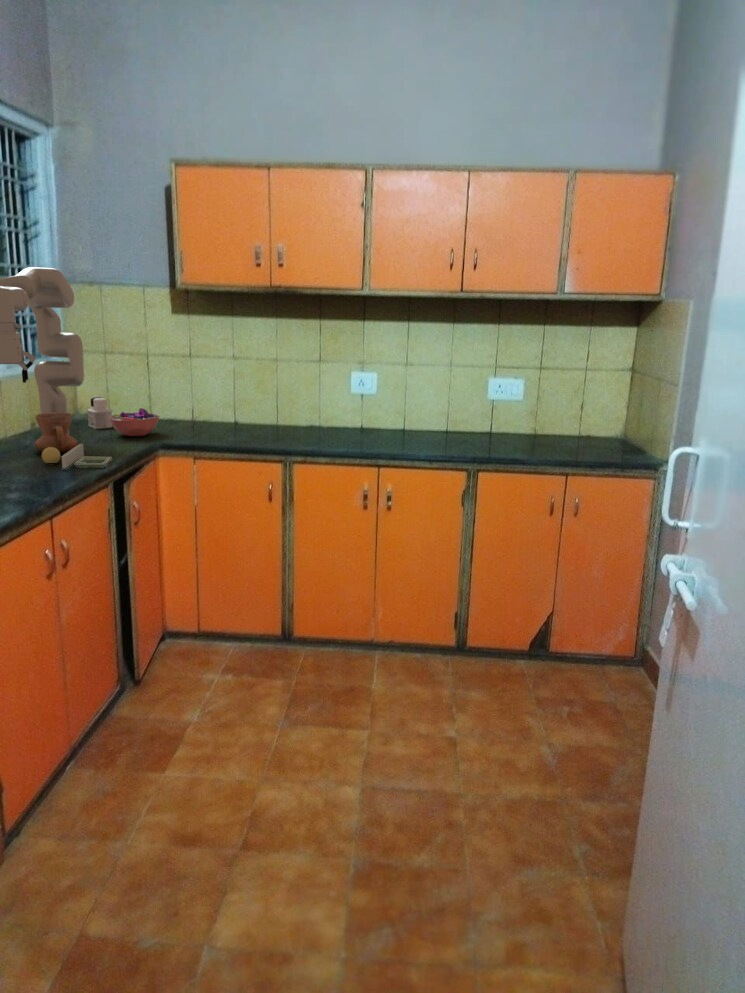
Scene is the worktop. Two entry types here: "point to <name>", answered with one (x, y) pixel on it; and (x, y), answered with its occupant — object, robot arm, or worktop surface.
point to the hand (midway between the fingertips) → (8, 382)
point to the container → (99, 414)
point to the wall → (72, 455)
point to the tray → (79, 462)
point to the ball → (51, 455)
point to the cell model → (135, 423)
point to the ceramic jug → (55, 432)
